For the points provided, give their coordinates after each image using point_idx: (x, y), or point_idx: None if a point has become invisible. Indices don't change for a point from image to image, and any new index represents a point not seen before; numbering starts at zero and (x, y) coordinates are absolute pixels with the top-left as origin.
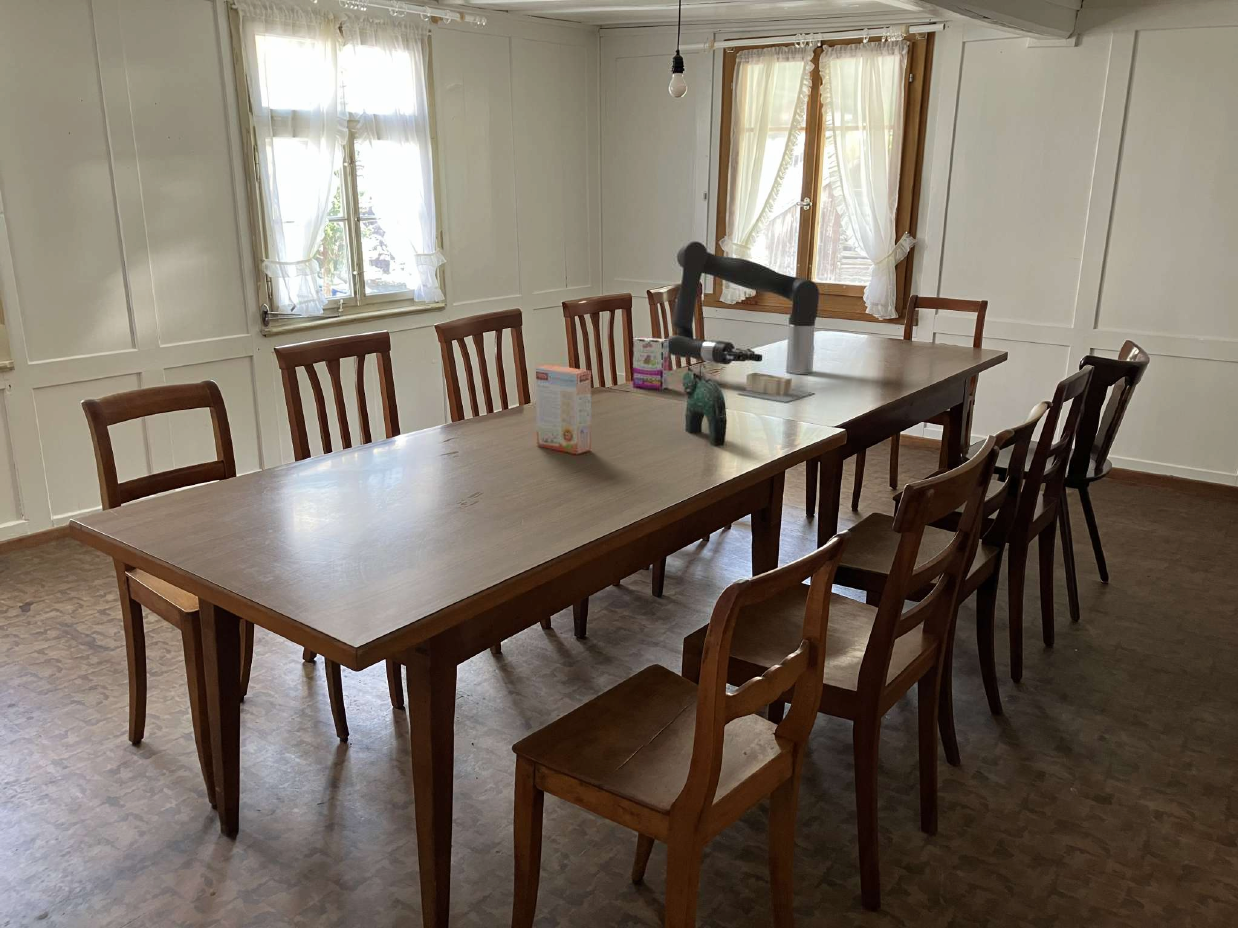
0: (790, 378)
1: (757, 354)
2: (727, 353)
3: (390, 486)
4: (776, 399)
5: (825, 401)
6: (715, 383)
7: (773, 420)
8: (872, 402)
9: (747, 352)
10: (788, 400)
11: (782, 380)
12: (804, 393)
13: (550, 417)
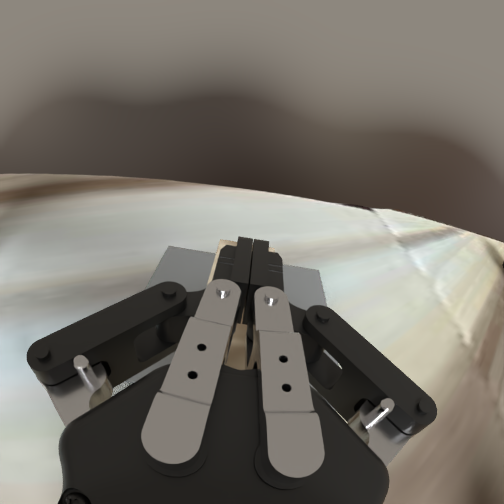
0: (224, 241)
1: (255, 250)
2: (435, 416)
3: None
4: (316, 289)
5: (235, 227)
6: None
7: (424, 257)
8: (193, 190)
9: (234, 316)
10: (301, 268)
11: (273, 250)
12: (191, 259)
13: None
